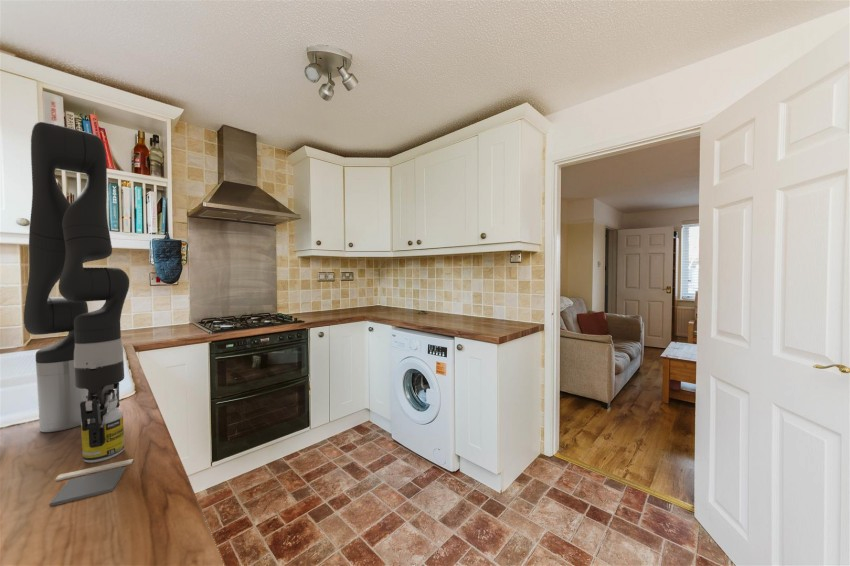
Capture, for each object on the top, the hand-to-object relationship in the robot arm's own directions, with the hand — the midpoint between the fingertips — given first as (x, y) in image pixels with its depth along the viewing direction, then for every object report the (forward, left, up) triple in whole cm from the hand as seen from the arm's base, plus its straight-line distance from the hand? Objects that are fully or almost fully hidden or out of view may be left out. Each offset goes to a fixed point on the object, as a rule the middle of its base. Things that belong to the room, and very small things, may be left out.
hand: (103, 438), depth 72 cm
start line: (+6, 0, -4) cm, 7 cm away
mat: (+13, +1, -4) cm, 13 cm away
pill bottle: (0, 0, -4) cm, 4 cm away
